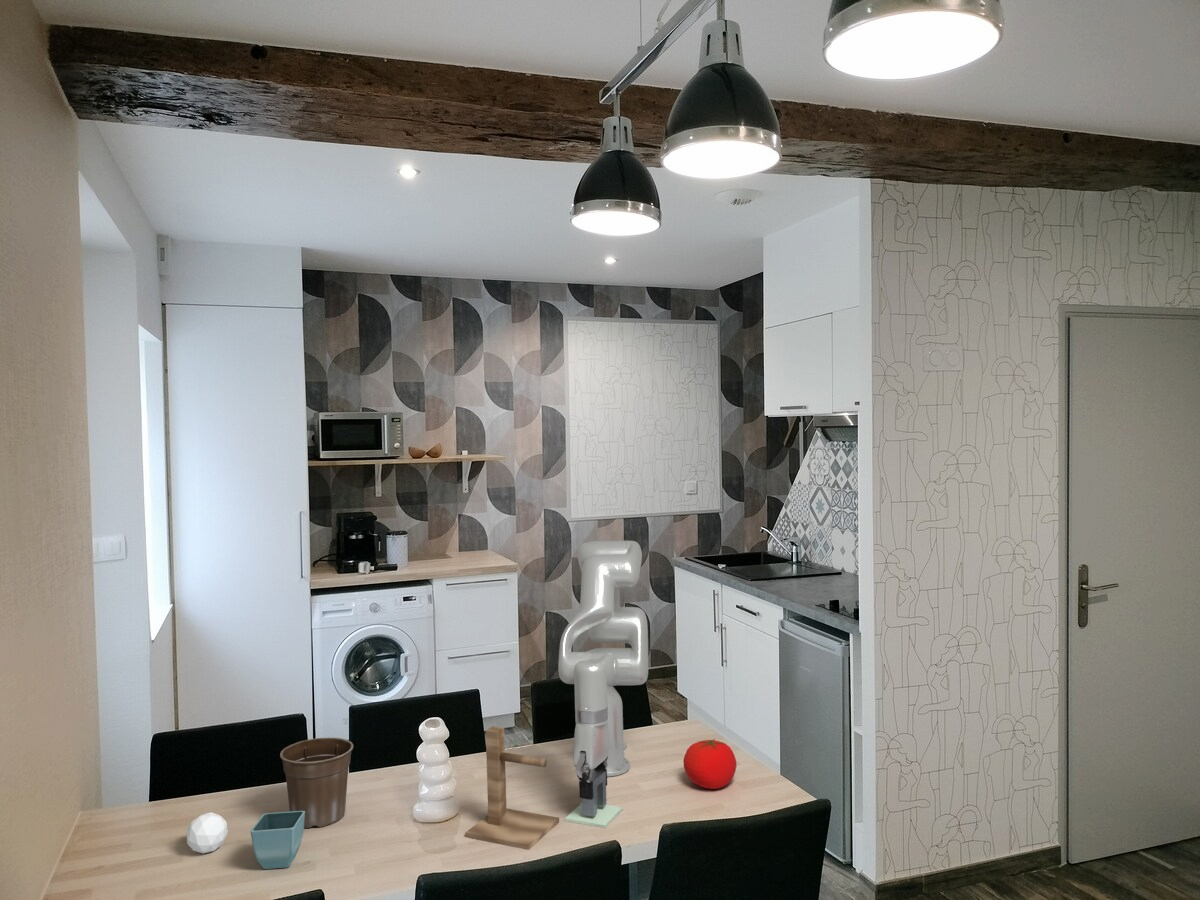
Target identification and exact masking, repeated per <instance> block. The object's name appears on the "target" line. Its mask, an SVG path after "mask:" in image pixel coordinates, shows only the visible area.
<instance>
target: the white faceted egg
mask: <svg viewBox="0 0 1200 900" xmlns="http://www.w3.org/2000/svg"><path fill="white" fill-rule="evenodd" d="M227 823H228V822H227V821H226V820H225V819H224V817H223V816H221V815H220V814H217V813H214V812H211V811H210V812H207V813H204V814H201V815H199V816H197V817H196V818H195V819H194V820H192V821H191V823H190V825H189V826H188V827H187V830H186V843H187V846H189V847H190V849H191V850H192V851H193V852H197V853H200V854H207V853H211V852H214V851H216V850H217V849H218V848H219V847H221V846H222V845H223V844H224V841H225V840H226V839H227V835H228V833H229V832H228V825H227Z"/></svg>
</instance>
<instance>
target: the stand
mask: <svg viewBox="0 0 1200 900" xmlns="http://www.w3.org/2000/svg"><path fill="white" fill-rule="evenodd" d="M505 737H506V736H505V727H503V726H502V727H501V726H495V725H494V726H491V727H489V728H488V729H486V730H485V746H486V752H485V753H486V781H487V782H486V783H487V784H486V785H487V789H486V790H487V815H486V816H485V817H484V818H482V819H481V820H479V822H477V823H476V824H475V825H473V826H472V827H471V828H469V829H468V830H466V832H465V833H464V834H465V838H468V839H473V840H479V841H484V842H489V843H493V844H498V845H500V844H501V845H504V846H509V847H514V848H519V849H524V850H530V849H532V848H533V846H535V845H536V844H537V843H539V841H540V840H541V839H543V838H544V837H545V836H546V835H547V834H548V833H549V832H550V831H551V830H552V829H553V828H554V827H556V825H558V824H559V823H560V817H558V816H553V815H546V814H541V813H535V812H529V811H524V810H518V809H517V810H516V809H513V808H512V809H511V808H508V807H507V784H506V783H507V782H506V781H507V780H506V779H507V778H506V777H507V776H506V775H507V774H506V763H512V764H513V763H514V764H520V765H526V766H527V765H528V766H533V767H541V768H545V767H546V766H547V763H548V761H547V758H544V757H537V756H531V755H523V754H516V753H511V752H506V746H505V745H506V743H505V742H506V740H505Z"/></svg>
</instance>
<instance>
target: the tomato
mask: <svg viewBox="0 0 1200 900" xmlns="http://www.w3.org/2000/svg"><path fill="white" fill-rule="evenodd" d="M737 764H738V763H737V759H736V755H735V753H734V751H733V750H732V748H731V747H730V746H729V745H728V744H727V743H726V742H722V741H720V740H715V738H714V739H706V740H705V739H704V740H700V741H699V740H698V741H697V742H695V743H693V744H690V746H689V747H688V748H687V749H686V752H685V753H684V757H683V768H684V772H685V774H686V776H687V777H688V779H690V780H691V781H692V782H693V783H694V784H695V785H697V786H699V787H701V788H705V789H711V790H712V789H713V790H715V789H720V788H723V787H725V786H726V785H728V784H729V783H731V781H732V779H733V777H734V776H735V773H736V769H737Z"/></svg>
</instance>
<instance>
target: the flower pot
mask: <svg viewBox="0 0 1200 900" xmlns="http://www.w3.org/2000/svg"><path fill="white" fill-rule="evenodd" d="M304 819H305V811H292V812H290V811H280V812H267V813H265V812H264V813H263V814H261V816H260V817H259V819H258V820H257V822H256V823H255V824H254V825H253V826H252V828H251V829H250V836H251V843H252V848H253V849H252V850H253V854H254V857H255V859H256V861H257V862H258V864H259V865H260V866H261V867H262V869H264V870H271V869H283V868H285V869H286V868H289V867H290V866H291V865H292V863H293V861H294V859H295V858H296V856H297V854H298V852H299V849H300V846H301V844H302V840H303V836H304V830H305V828H304Z"/></svg>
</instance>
